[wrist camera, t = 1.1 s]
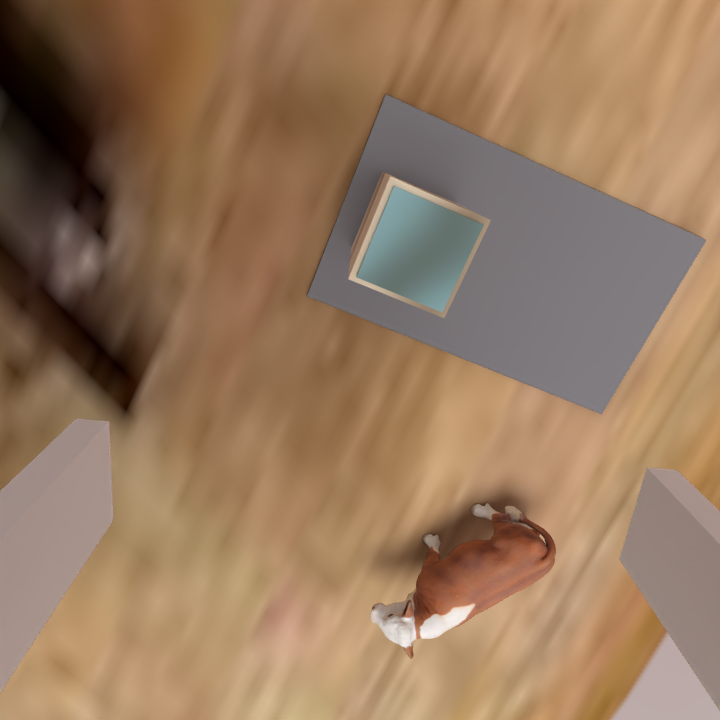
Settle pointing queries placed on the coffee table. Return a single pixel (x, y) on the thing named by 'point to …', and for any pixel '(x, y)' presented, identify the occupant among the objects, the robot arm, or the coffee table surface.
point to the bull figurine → (468, 578)
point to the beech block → (415, 245)
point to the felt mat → (517, 261)
